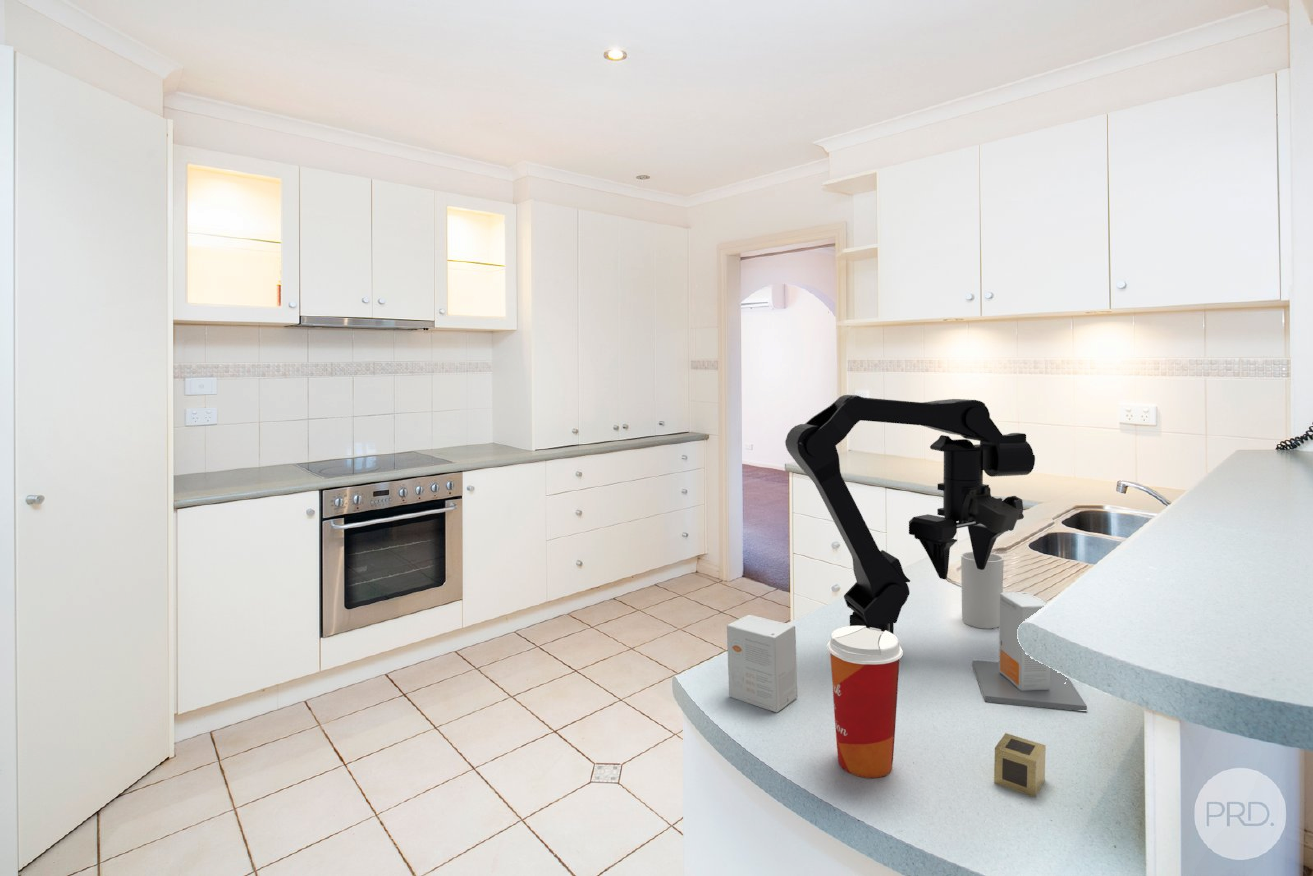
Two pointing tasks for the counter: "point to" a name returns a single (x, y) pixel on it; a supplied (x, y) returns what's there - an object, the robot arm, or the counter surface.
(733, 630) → the small box
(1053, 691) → the slate pad
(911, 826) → the counter surface
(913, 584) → the counter surface
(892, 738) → the coffee cup
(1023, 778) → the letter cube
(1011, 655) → the skincare box
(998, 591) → the mug
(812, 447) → the robot arm
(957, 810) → the counter surface
